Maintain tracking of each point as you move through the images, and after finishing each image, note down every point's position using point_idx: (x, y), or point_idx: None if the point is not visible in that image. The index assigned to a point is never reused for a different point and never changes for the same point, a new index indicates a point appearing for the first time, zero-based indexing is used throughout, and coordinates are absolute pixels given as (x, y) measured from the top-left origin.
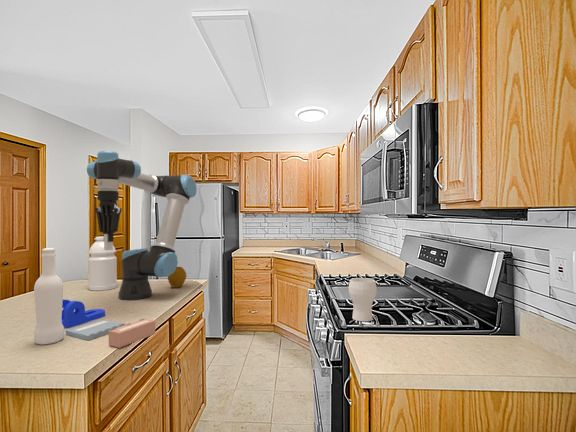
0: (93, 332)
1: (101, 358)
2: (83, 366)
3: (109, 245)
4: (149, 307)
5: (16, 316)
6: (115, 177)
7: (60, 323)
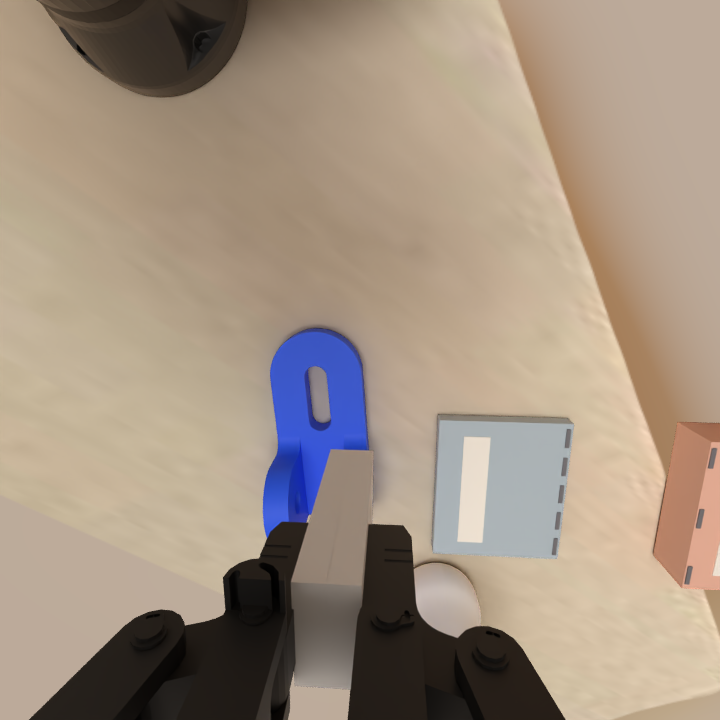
0: (541, 531)
1: (708, 618)
2: (702, 664)
3: (370, 520)
4: (426, 144)
5: (61, 490)
6: None
7: (473, 619)
